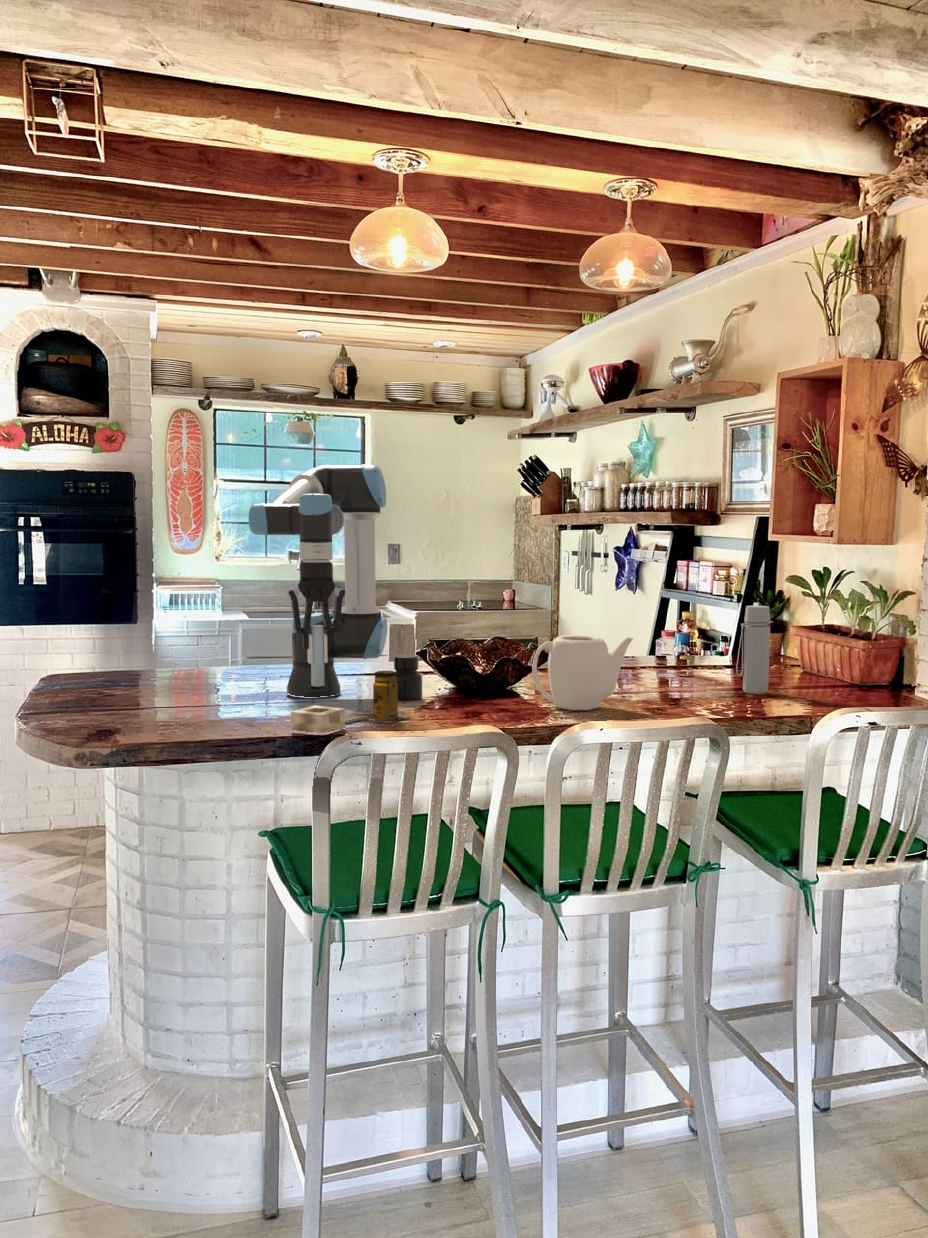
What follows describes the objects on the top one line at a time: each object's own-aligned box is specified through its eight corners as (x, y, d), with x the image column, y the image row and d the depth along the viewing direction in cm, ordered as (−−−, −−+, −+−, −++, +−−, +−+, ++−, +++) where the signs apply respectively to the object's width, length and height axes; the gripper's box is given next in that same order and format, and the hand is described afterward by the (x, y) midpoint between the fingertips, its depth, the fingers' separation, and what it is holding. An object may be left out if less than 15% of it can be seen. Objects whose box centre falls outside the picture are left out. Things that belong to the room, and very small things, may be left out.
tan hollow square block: (291, 733, 224) (291, 711, 223) (314, 725, 232) (313, 705, 231) (323, 737, 220) (323, 715, 219) (345, 729, 228) (345, 708, 227)
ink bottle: (395, 695, 274) (395, 653, 273) (425, 696, 272) (425, 654, 271) (386, 701, 264) (385, 658, 263) (417, 702, 262) (417, 659, 261)
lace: (337, 726, 232) (337, 722, 232) (334, 725, 232) (334, 722, 232) (366, 719, 240) (365, 716, 240) (363, 718, 240) (363, 715, 240)
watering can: (637, 713, 248) (639, 640, 246) (534, 713, 248) (535, 640, 246) (626, 702, 264) (627, 633, 262) (529, 702, 263) (529, 633, 261)
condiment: (366, 719, 240) (365, 672, 238) (390, 714, 246) (389, 668, 245) (387, 723, 235) (386, 675, 234) (410, 718, 241) (410, 671, 240)
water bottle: (765, 690, 282) (768, 605, 280) (771, 695, 274) (774, 607, 272) (733, 690, 283) (735, 605, 280) (738, 694, 275) (740, 607, 273)
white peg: (308, 685, 224) (307, 625, 223) (316, 684, 227) (315, 624, 225) (319, 686, 223) (318, 626, 221) (326, 684, 225) (326, 625, 224)
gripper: (283, 562, 216) (285, 666, 218) (353, 561, 221) (354, 663, 223) (279, 561, 223) (281, 661, 225) (346, 560, 228) (347, 659, 230)
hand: (317, 662), depth 224 cm, fingers closed on white peg, 3 cm apart
